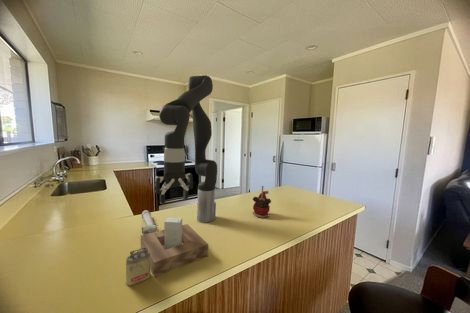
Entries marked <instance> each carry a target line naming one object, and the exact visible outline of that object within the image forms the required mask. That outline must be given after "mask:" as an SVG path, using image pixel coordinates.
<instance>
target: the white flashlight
mask: <svg viewBox="0 0 470 313" xmlns="http://www.w3.org/2000/svg"><path fill="white" fill-rule="evenodd" d="M141 219H143V221H144V224H145V225H142V226H141V234H142V235H145V234H149V233H153V232H157V231H158V228H157V225H155V223H154V221H153V217H152V213H151V212H150V211H149V210H148V209H145V210H143V211H142V212H141Z"/></svg>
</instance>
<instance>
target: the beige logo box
mask: <svg viewBox="0 0 470 313" xmlns="http://www.w3.org/2000/svg"><path fill="white" fill-rule="evenodd" d="M142 249H144V250H142ZM142 249H141V248H139V249H136V250H131V251H129V256H127V257H126V259H125V276H126V277H125V284H126V285H127V286H134V285H136V284H139V283H141V282H144V281H146V280H149V279H150V278H151V275H152V273H151V269H150V252H149V251H148V249H146V246H145V247H144V248H142Z"/></svg>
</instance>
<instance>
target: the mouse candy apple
mask: <svg viewBox="0 0 470 313" xmlns="http://www.w3.org/2000/svg"><path fill="white" fill-rule="evenodd" d="M268 194H269V190H264V185H262V186H261V193H260V194H259V195H258V196H254V197H252V201H253V202H254V204H253V206H252V209H253V211H252V214H253V215H254V216H255V217H257V218H267V217H269V216H270V209H271V208H270V204H271V203H272V199H271V198H267V196H266V195H268Z"/></svg>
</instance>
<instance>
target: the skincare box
mask: <svg viewBox="0 0 470 313" xmlns="http://www.w3.org/2000/svg"><path fill="white" fill-rule="evenodd" d="M163 223H164V224H163V225H164V229H163V230H164V250H167V249H170V248H173V247H176V246H179V245H182V225H183V217H167V218H166V220H164V222H163Z"/></svg>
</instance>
